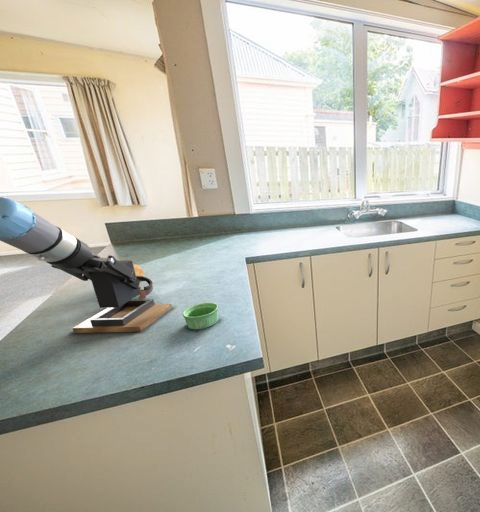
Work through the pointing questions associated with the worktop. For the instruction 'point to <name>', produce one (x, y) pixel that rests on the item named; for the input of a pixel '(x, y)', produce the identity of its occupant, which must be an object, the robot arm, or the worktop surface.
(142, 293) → the pottery mug
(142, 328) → the wooden base board
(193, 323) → the ramekin
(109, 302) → the dark gray block
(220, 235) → the worktop surface
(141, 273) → the tan rounded piece
